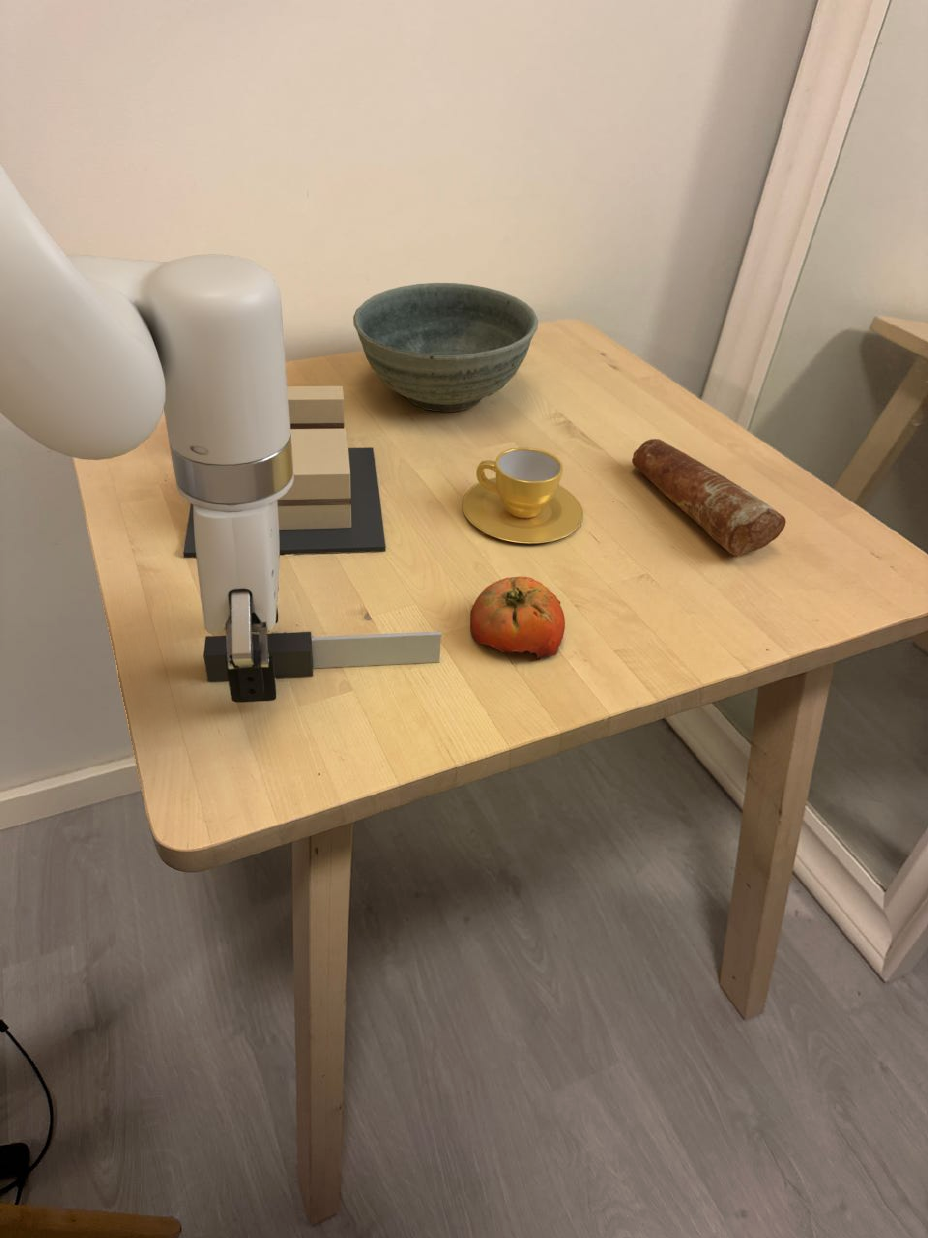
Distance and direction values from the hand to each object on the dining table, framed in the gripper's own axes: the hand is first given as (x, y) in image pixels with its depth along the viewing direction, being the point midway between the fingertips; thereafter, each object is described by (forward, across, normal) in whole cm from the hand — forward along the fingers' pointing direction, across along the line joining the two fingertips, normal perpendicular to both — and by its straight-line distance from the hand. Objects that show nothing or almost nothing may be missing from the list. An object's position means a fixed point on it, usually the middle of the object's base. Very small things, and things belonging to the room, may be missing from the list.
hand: (256, 658), depth 70 cm
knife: (+1, 0, +5) cm, 5 cm away
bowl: (+1, -46, +20) cm, 50 cm away
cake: (+1, -24, +2) cm, 24 cm away
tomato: (+1, -3, +21) cm, 21 cm away
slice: (+1, -34, +2) cm, 34 cm away
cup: (+1, -21, +25) cm, 33 cm away
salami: (+1, -20, +42) cm, 47 cm away
